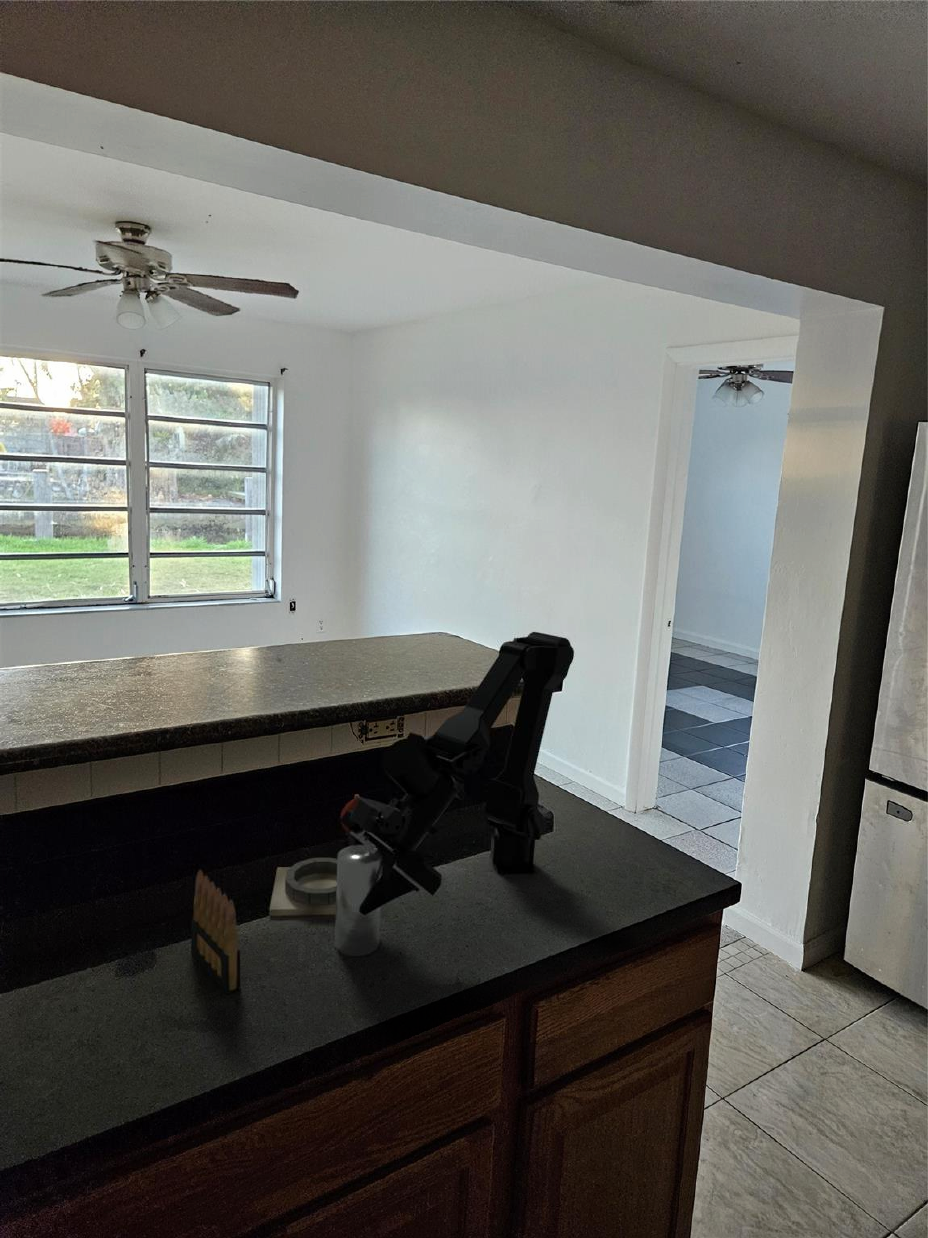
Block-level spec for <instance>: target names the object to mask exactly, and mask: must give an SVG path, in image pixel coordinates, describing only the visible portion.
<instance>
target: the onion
mask: <svg viewBox="0 0 928 1238" xmlns="http://www.w3.org/2000/svg"><path fill="white" fill-rule="evenodd" d="M359 797H361V796H360V795H359V794H357V793H356V794H354V799H352V800H350V801H348V802H347V803H346V804H345V806H344V807H343V809H342V810H341V814H340V819H341V818H342V817H343V816H344V814H345V813H346V812H347V811H348V810H352V809H354V807H355V805H356V803H357V800H358V798H359ZM341 826H342V827H343V830H345V832H346V831H348V832H349V833H351V830H350V829H348V828H347V827H346V826H345V825H344V824H342V823H341Z"/></svg>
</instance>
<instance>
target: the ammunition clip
mask: <svg viewBox="0 0 928 1238" xmlns="http://www.w3.org/2000/svg"><path fill="white" fill-rule="evenodd" d="M236 916H237V915H236V908H235V904H234V901H233V899H228V896H227V893H223V894H222V891H221V888H220V887H217V888H216V885H215V883H214V881H210V879H209V877H208V876H207V875H204V872H203V871H202V869H199V870H198V872H197V874H196V878H195V891H194V900H193V917H192V918H191V926H190V927H191V933H190V934H191V936H190V937H191V938H190V939H191V940H190V941H191V942H190V944H191V945H190V953H191V955H192V956H193V957H194V958H195V960H197V961H198V963H199V964H200V965H201V966H202V967H203V969H204V970H205V971H206V973H207V974H208V975H209V976H210V977H211V978H212V979H213V981H214V982H215V983H216V984H217V985H218V986H219V988H220V989H221V990H222V991H223V992H224V994H226V995H228V994H230V993H233V992H235V991H238V990H240V989H241V950H239V948H238V946H239V944H238V942H239V941H238V938H239V937H238V936H239V934H238V928H237V927H238V926H237V917H236Z"/></svg>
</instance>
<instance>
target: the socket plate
mask: <svg viewBox="0 0 928 1238" xmlns="http://www.w3.org/2000/svg"><path fill="white" fill-rule="evenodd" d="M336 886H337V858H334V857H311V858H308V859H305V860H302V861H297V862H296V863H295V864H293V865H292V866H291V867H289V866H287V867H286V866H284V867H281V866H280V867H277V869H276V873H275V880H274V884H273V888H272V889H273V890H272V893H271V894H272V895H271V899H270V904H269V910H268V911H269V914H268V915H269V917H278V916H279V917H281V916H283V917H285V916H322V915H325V916H328V915H331V916H333V915H334V916H336Z"/></svg>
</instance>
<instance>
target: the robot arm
mask: <svg viewBox="0 0 928 1238" xmlns="http://www.w3.org/2000/svg"><path fill="white" fill-rule="evenodd" d="M574 658H575V650H574V648H573V647H572V645H571V642H570V640H569V639H568V638H567V637H563V636H559V635H552V634H548V633H544V632H539V631H538V632H537V631H532V632H530V633H529V634H528V635H527V636H523V637H522V636H521V637H514V638H513V640H512V641H511V640H509V641H505V642H503V643H502V645H500V647H499V651H498V656H497V657H496V659H495V661H494V662H493V663H492V665H491V667H490V668H489V669H488V671H487V673H486V674H485V675H484V677H483V679H482V681H481V682H480V683H479V685H478V686H477V688H476V689H475V691H474V692H473V694H472V696H470V698H469V700H468V701H467V703H466V705H465V706H464V707H463V708H462V710H461V711H460V712H457V713H455V714H453V715H452V716H450V717H447V719H446V720H445V721H444V722H443V723H442V724H441V725H440V726H439V727H438V729H436V731H435V732H434V734H432V735H431V736H428V737H427V738H426V739H425V738H424V736H422V735H421V734H418V733H415V732H413V731H410V732H409V734H408V735H407V737H406V738H402V739H399V740H396V741H395V742H393V743H391V745H389V747H386V749H385V750H384V752H383V755H382V757H381V768H382V770H383V772H384V773H385V774H386V775H387V776H388V777H389V778H390V779H391V780H392V781H393V782H394V783H396V785H397V786H398V787H400V789H401V790H402V791H403V792H405V795H403V797H402V798H401V799H399V798H398V797H396V796H395V797H394V798H392V799H391V800H390V801H389V803H388V804H385V803H384V802H383V803H382V802H380V801H376V800H374V799H373V800H372V799H369V798H365V797H362V796H360V797H359V798H358V800H357V803H356V805H355V807H354V809H352V810H348V811H347V812H346V813H345V814H344V816H343V817H342V818H341V817H340V820H339V822H340V823H341V825H342V824H344V825H345V826H346V827H347V828H348V829H350V830H351V833H349V832H348V831H346V830H345V835H346V836H347V838H348V839H347V840H348V847H349V846H353V845H367V846H372V847H375V848H377V849H379V850H380V851H381V852H382V853H384V854H385V855H387V856H388V857H389V858H390V859H391V860H393V861H394V862H395V863H394V865H393V866H392V865H391V864H390V863H388V862H387V861H386V860H383V861H382V876H381V877H380V879H379V880H378V882H377V883H376V885H375V886H374V888H373V889H372V890H371V892H370V893H369V895H368V896H367V898H366V899H365V901H364V902H363V904H362V906H361V908H360V909H359V912H360V913H362V914H363V915H366V914H368V913H370V912H372V911H373V910H375V909H377V908H379V907H380V908H381V907H383V906H384V905H387V904H388V903H390V902H391V901H393V900H396V899H397V898H400V897H402V896H404V895H406V894H408V893H410V892H413V891H415V892H416V893H418V892H419V891H420V888H419V887H418V886H420V887H421V888H422V889H424V890H425V891H426V892H428V893H429V895H431V896H434V895H435V894H436V892H437V891H438V890H439V888H441V886H442V882H443V881H442V880H443V875H442V874H441V873H440V872H439V871H438V870H437V869H435V868H434V866H432V865H431V864H429V863H428V862H427V861H426V860H425V859H424V858H422V857H421V856H420V854H419V853H418V852H417V851H416V849H417V848H418V847H419V845H420V844H421V843H422V842H423V840H424V838H426V836H427V835H431V836H432V837H434V836H435V834H436V833H437V831H438V829H436V827H434V826H435V823H436V822H437V821H438V820H439V818H441V816H442V814H443V813H444V812H445V810H446V809H447V808H448V806H449V805H450V804H451V802H452V801H453V800H454V798H455V797H456V798H457V799H459V800H460V801H463V800H464V799H465V797H466V796H465V795H466V793H465V788H464V785H465V781H464V779H462V778H460V777H458V776H456V775H454V774H453V775H451V774H450V772H449V771H447V770H450V771H453V772H455V773H458V774H461V775H464V776H465V775H466V776H468V775H471V774H472V775H473V774H474V773H476V772H477V771H478V769H479V768H480V767H481V766H482V764H483V762H484V759H485V757H486V755H487V753H488V750H489V749H490V746H491V740H490V739H491V738H490V737H491V736H490V732H491V730H492V728H493V725H494V724H495V722H496V721H497V719H498V717H499V716H500V715H501V713H502V711H503V710H504V708H505V707H506V705H507V703H508V702H509V700H510V699H511V697H512V695H513V694H514V692H515V691H516V689H517V688H518V686H519V685H520V683H521V682H522V681H523V686H522V691H521V695H520V698H519V699H520V700H519V704H518V708H517V712H516V717H515V720H514V726H513V730H512V734H511V738H510V742H509V748H508V751H507V755H506V758H505V759H506V760H505V764H504V768H503V770H502V771H501V772H500V773H499V775H497V776H496V778H493V777H491V778H490V779H489V781H488V782H487V789H486V793H485V797H484V799H483V813H485V819H486V820H485V821H486V825H487V826H488V827H491V828H494V832H495V833H493V834H492V835H491V840H490V853H489V854H490V855H489V857H490V859H491V864H493V865H494V867H495V871H496V872H497V873H498V874H515V873H517V874H522V873H523V874H524V873H525V874H527V873H528V874H529V873H530V874H532V873H536V870H537V869H536V867H535V864H534V859H535V858H534V856H535V847H536V846H535V845H536V841H539V840H541V839H542V835H544V833H545V830H546V826H547V822H548V821H547V819H546V817H544V815H543V814H542V813H541V812H540V810H539V809H538V805H539V799H540V793H539V790H538V787H537V783H536V779H535V771H536V767H537V764H538V758H539V754H540V749H541V745H542V742H543V738H544V732H545V728H546V725H547V719H548V715H549V711H550V706H551V702H552V697H553V694H554V691H555V689H557V688H558V687H559V686H560V684H561V683H563V681H564V680H565V679H566V678H567V677H568V672H569V670H570V667H571V665H572V663H573V661H574ZM442 768H443V769H442ZM445 769H447V770H445ZM387 843H388V844H387ZM396 849H397V851H396ZM336 890H337V886H336Z"/></svg>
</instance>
